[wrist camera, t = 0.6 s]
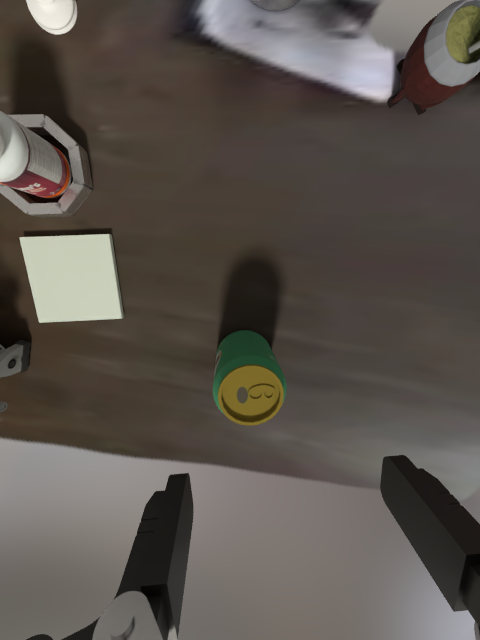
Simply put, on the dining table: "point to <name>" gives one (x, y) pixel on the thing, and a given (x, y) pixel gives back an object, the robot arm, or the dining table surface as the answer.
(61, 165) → the pill bottle
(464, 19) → the mate gourd
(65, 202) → the steel collar
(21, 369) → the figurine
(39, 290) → the sage pad
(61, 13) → the chess piece
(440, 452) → the dining table surface
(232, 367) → the beverage can
